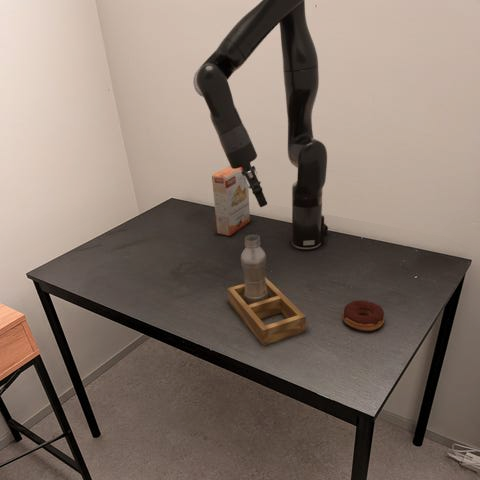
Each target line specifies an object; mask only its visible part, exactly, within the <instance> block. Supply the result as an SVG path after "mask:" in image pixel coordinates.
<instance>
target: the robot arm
mask: <svg viewBox="0 0 480 480" xmlns="http://www.w3.org/2000/svg"><path fill="white" fill-rule="evenodd" d="M278 25H279V30H280V31H279V32H280V33H279V34H280V46H281V55H282V71H283V72H282V74H283V84H284V85H283V86H284V93H285V105H286V113H287V114H286V115H287V157H288V160H289V163H291V164H292V166H293V167H295V168H297V176H296V177H297V179H296V181H295V182H293V183H292V186H291V230H292V231H291V237H292V238H291V246H292V247H293V248H294V249H297V250H300V251H311V250H316V249H318V248H320V247H321V246H322V245H324V237H325V236H324V235H325V234H327V233H328V230H329V226H328V225H327V224H326V223H325V216H324V215H323V191H324V190H323V188H324V187H325V184H326V179H327V167H328V151H327V148H326V145H325V143H323V142H322V141H321V140H318V139H316V138H314V131H313V122H312V121H313V120H312V118H313V109H314V106H315V102H316V100H317V95H318V92H319V86H320V85H319V84H320V74H319V73H320V71H319V58H318V53H317V49H316V46H315V43H314V40H313V38H312V35H311V32H310V29H309V26H308V22H307V18H306V1H305V0H260V2H259V3H258V4H257V5H256V6H255V7H253V8H252V9H251V10H250V11H248V13H246V14H245V15H244V16H243V17H242V18H240V19H239V21H238V22H237V23H236V24H235V25H234V26H233V27H232V28H231V30H230V31H229V32H228V33H227V34H226V36H225V37H224V38H223V40H222V41H221V42H220V43H219V45H218V47H217V48H216V49H215V50H214V52H213V53H212V54H210V56H209V57H208V58H207V59H206V60H205V61H204V62H203V63H202V64H201V66H199V68H198V69H197V70H196V71H195V73H194V75H193V79H192V80H193V81H192V85H193V88H194V91H195V92H196V93H197V94H198V95H199V96H200V97H202V98H203V99H204V102H205V104H206V106H207V108H208V111H209V117H210V120H211V123H212V125H213V128H214V130H215V132H216V135H217V138H218V139H219V143H220V145H221V148H222V150H223V152H224V154H225V156H226V158H227V162H228V163H229V166H231V167H232V168H233V169H237V168H239V167H241V168H242V169H243V171H242V172H241V173H242V176H243V178H244V180H246V182H247V185H248V188H249V190H251V192H252V194H253V195H254V197H255V199H256V201H257V204H258V206H259V207H260V208H263V207H265V206H267V205H268V201H267V199H266V197H265V194H264V192H263V187H262V186H261V183H262V182H261V180H260V177H259V175H258V170H257V168H256V167H255V165H251V164H252V163H251V162H254V161H255V160H256V159H257V157H258V153H257V152H256V148H255V147H254V144H253V142H252V139H251V137H250V135H249V133H248V130H247V129H246V126H245V124H244V123H243V120H242V118H241V116H240V113H239V111H238V109H237V107H236V105H235V102H234V97H233V95H232V91H231V88H230V85H229V84H230V83H229V81H228V80H229V79H230V78H231V76H233V74H234V73H235V72H237V70H239V69H240V68H241V67H243V65H244V64H245V63H246V62H247V61H248V59H249V58H250V57H251V56H252V54H253V53H254V52H255V51H256V50H257V48H258V47H259V46H260V45H261V43H262V42H263V41H264V40H265V39H266V38H267V37H268V35H270V33H271V32H272V31H273V30H274V29H275V28H276V27H277V26H278Z"/></svg>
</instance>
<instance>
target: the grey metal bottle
mask: <svg viewBox="0 0 480 480" xmlns="http://www.w3.org/2000/svg"><path fill="white" fill-rule="evenodd" d="M244 247H245V248H244V249H243V250H242V253H240V264H241V267H242V272H243V279H244V284H245V292H244V301H245V303H246V304H247V305H250V304H253V303H256V302H260V301H263V300H266V299H269V296H268V292H267V288H266V281H265V277H266V267H267V254H266V252H265V250H264V249H263V248H262V246H261V237H260V235H258V234H249V235H246V236H245V237H244Z"/></svg>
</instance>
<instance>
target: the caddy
mask: <svg viewBox="0 0 480 480" xmlns="http://www.w3.org/2000/svg"><path fill="white" fill-rule="evenodd" d="M265 281H266V288H267V292H268V296H269V299H266V300H263V301H260V302H256V303H253V304H250V305H247V304H246V303H245V301H244V292H245V283H241V284H238V285H235V286H231V287H228V288H227V297H228V303H229V305H230V306H231V308H232V309H233V310H234V311H235V312H236V313H237V315H238V316H239V317H240V318H241V320H242V321H243V322H244V323H245V324H246V326H247V327H248V328H249V330H250V331H251V332H252V333H253V335H254V336H255V337H256V338H257V339H258V341H259V342H260V343H261V344H262V346H266V345H267V346H268V345H269V344H272V343H276V342H279V341H282V340H284V339H287V338H290V337H291V338H292V336H293V337H294V336H297V335H299V334H302V333H305V332H306V329H307V328H306V323H307V321H306V320H307V319H306V318H307V317H306V315H305V314H304V313H303V312H302V311H301V310H300V309H299V308H298V307H297V306H295V304H294V303H292V301H291V300H289V299H288V297H287V296H285V294H284V293H282V292H281V291H280V290H279V289H278V287H276V286H275V285H274V284H273V283H272V282H271V281H270V280H269V279H268V278H267V277H266V276H265ZM278 314H282V315H283V316H284V317H285V319H281V320H279V321H275V322H272V323H269V324H266V325H265V323H264V322H263V321H262V319H266V318H269V317H272V316H275V315H278Z"/></svg>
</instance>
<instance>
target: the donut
mask: <svg viewBox="0 0 480 480" xmlns="http://www.w3.org/2000/svg"><path fill="white" fill-rule="evenodd" d="M342 320H343V322H344V323H345V324H346V325H348V326H349V327H351V328H352V329H356V330H358V331H359V330H360V331H364V332H365V331H366V332H372V331H376V330H377V329H379V328H381V327H382V326H383V325H384V323H385V312H384V310H383V307H381V306H380V305H379V304H377V303H374V302H372V301H367V300H352V301H351V302H348V303H347V304H346V305H345V306H344V308H343V312H342Z"/></svg>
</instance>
